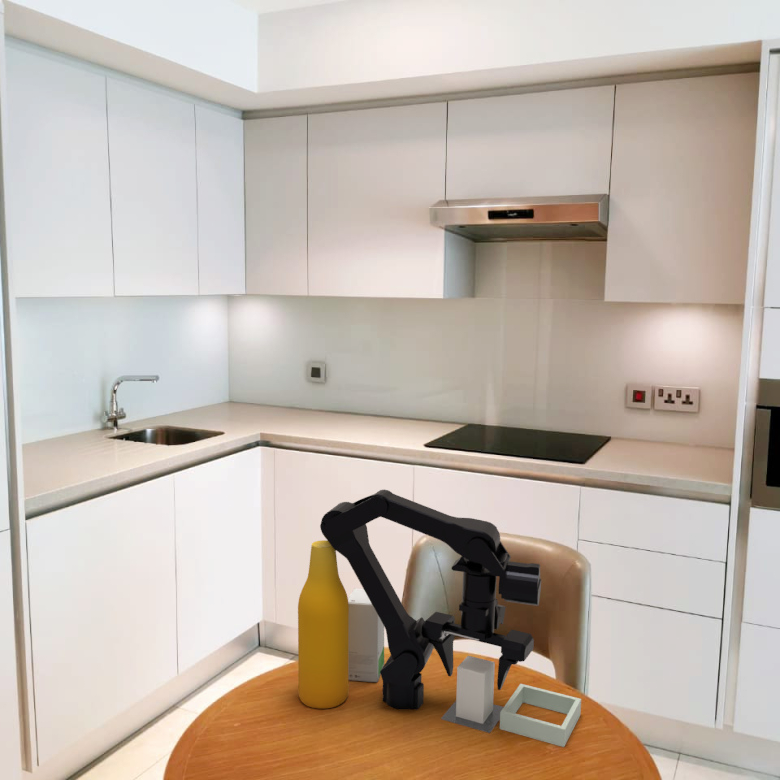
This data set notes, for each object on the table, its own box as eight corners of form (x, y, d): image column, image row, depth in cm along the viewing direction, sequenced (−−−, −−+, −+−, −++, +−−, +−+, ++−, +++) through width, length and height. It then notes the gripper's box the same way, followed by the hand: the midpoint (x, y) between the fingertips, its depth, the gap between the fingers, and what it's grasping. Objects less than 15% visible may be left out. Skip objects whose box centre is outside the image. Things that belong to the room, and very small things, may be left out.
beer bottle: (335, 714, 138) (335, 555, 135) (289, 703, 142) (287, 548, 138) (356, 689, 147) (357, 539, 143) (312, 680, 150) (311, 533, 146)
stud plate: (440, 724, 136) (441, 703, 135) (460, 700, 144) (460, 680, 143) (489, 738, 132) (490, 717, 131) (507, 713, 140) (508, 693, 139)
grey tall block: (455, 716, 137) (457, 667, 135) (466, 703, 141) (468, 655, 140) (482, 724, 134) (484, 674, 133) (492, 710, 139) (494, 662, 138)
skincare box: (377, 683, 149) (379, 605, 147) (343, 680, 150) (344, 602, 148) (384, 663, 158) (386, 588, 156) (352, 660, 159) (353, 586, 157)
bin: (499, 734, 133) (500, 712, 133) (519, 704, 143) (520, 683, 142) (563, 752, 128) (564, 729, 128) (580, 720, 138) (581, 698, 137)
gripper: (545, 591, 138) (540, 675, 140) (447, 571, 146) (443, 650, 148) (525, 614, 128) (520, 704, 130) (421, 591, 136) (418, 676, 138)
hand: (474, 682), depth 137 cm, fingers open, 9 cm apart
